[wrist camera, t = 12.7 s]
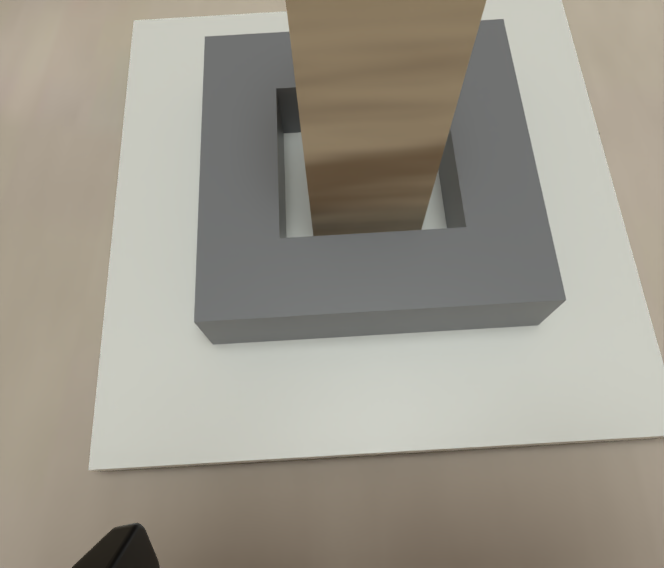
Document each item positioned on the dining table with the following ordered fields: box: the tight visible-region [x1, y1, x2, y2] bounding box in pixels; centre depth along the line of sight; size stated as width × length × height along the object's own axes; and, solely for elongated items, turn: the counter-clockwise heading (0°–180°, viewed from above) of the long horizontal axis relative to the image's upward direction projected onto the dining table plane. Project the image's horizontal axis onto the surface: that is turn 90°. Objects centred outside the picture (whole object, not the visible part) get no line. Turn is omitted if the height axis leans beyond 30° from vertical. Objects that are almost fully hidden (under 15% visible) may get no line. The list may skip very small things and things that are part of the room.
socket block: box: [89, 0, 664, 471], centre depth 23 cm, size 22×22×4 cm
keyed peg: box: [286, 0, 486, 236], centre depth 19 cm, size 6×4×13 cm
